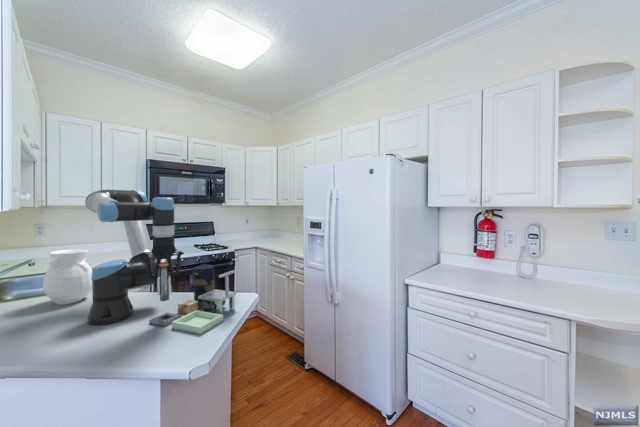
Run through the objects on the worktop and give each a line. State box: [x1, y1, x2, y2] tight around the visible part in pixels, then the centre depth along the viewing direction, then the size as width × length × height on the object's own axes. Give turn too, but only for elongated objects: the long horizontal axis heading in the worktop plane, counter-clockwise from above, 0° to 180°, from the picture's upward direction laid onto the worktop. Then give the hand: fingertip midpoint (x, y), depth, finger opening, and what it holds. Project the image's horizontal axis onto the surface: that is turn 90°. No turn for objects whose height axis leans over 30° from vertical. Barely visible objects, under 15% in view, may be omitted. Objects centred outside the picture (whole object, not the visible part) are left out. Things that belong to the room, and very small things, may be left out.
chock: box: [177, 299, 198, 314], centre depth 118 cm, size 6×5×4 cm
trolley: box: [197, 269, 237, 315], centre depth 117 cm, size 12×10×18 cm
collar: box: [148, 312, 182, 328], centre depth 107 cm, size 8×8×2 cm
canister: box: [192, 263, 216, 303], centre depth 131 cm, size 10×10×18 cm
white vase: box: [42, 248, 93, 306], centre depth 130 cm, size 19×18×25 cm
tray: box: [171, 310, 224, 336], centre depth 104 cm, size 14×12×3 cm
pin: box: [158, 260, 170, 302], centre depth 107 cm, size 4×4×15 cm
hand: (164, 293), depth 107 cm, fingers closed on pin, 3 cm apart
